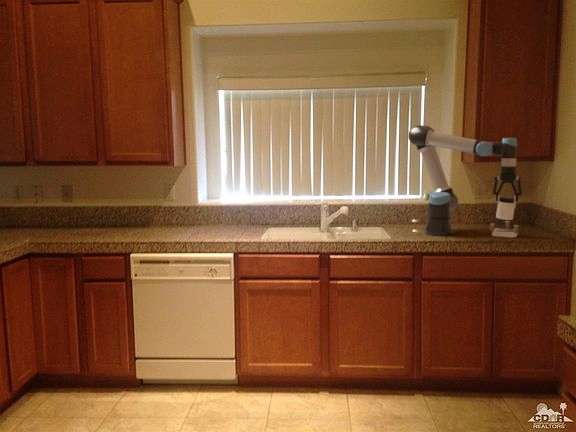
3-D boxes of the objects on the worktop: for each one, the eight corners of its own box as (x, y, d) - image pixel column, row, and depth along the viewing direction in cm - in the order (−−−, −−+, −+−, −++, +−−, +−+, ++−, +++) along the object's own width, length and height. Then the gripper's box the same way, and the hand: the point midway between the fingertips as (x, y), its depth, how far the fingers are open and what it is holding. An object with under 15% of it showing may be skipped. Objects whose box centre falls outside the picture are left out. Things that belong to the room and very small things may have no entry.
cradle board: (489, 235, 282) (489, 224, 281) (493, 231, 295) (494, 220, 294) (517, 237, 275) (518, 226, 274) (521, 233, 288) (521, 222, 287)
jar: (494, 218, 282) (497, 197, 280) (497, 216, 289) (500, 195, 286) (511, 220, 277) (514, 199, 275) (514, 218, 284) (517, 197, 282)
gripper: (487, 166, 280) (486, 207, 283) (528, 166, 270) (525, 208, 273) (490, 165, 287) (488, 205, 290) (529, 166, 276) (527, 207, 280)
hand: (506, 207), depth 281 cm, fingers closed on jar, 7 cm apart
